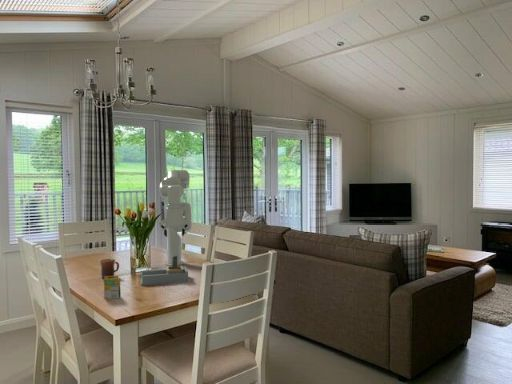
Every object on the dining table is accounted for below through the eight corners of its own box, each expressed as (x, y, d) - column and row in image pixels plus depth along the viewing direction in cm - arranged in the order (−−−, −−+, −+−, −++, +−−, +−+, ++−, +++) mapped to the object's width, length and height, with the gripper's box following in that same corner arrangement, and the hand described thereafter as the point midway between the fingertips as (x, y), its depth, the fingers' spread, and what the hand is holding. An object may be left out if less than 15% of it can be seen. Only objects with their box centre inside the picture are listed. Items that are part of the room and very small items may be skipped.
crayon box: (120, 296, 202) (120, 274, 201) (118, 298, 199) (118, 275, 198) (106, 297, 202) (105, 274, 201) (104, 298, 199) (103, 276, 198)
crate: (166, 275, 236) (166, 255, 236) (181, 274, 239) (181, 254, 238) (167, 279, 228) (167, 258, 227) (183, 278, 230) (183, 257, 230)
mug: (97, 278, 237) (96, 261, 236) (106, 274, 245) (105, 258, 245) (114, 279, 234) (114, 262, 233) (123, 276, 242) (122, 259, 241)
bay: (141, 279, 234) (141, 269, 234) (185, 276, 242) (185, 266, 241) (141, 285, 222) (141, 274, 222) (188, 281, 229) (188, 271, 229)
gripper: (188, 206, 237) (188, 234, 238) (158, 206, 232) (159, 235, 233) (189, 207, 230) (190, 236, 231) (159, 207, 225) (159, 237, 226)
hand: (174, 236), depth 232 cm, fingers open, 9 cm apart
